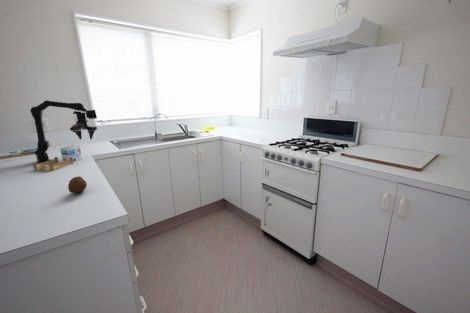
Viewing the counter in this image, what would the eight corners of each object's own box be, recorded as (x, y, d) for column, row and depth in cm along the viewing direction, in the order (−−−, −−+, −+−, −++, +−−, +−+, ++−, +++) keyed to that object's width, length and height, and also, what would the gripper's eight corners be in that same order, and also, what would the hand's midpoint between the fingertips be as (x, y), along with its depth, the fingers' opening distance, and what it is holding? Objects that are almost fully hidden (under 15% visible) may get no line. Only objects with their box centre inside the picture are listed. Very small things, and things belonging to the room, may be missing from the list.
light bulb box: (70, 162, 160) (67, 148, 157) (62, 162, 161) (59, 148, 158) (83, 158, 170) (80, 145, 167) (75, 158, 171) (72, 144, 168)
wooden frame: (34, 170, 144) (32, 163, 143) (57, 163, 160) (55, 157, 158) (52, 170, 142) (50, 164, 141) (73, 163, 158) (72, 157, 157)
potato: (87, 187, 114) (84, 173, 112) (88, 194, 106) (85, 178, 104) (70, 191, 110) (66, 176, 108) (69, 198, 102) (65, 182, 100)
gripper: (61, 120, 166) (66, 141, 170) (84, 120, 163) (88, 141, 167) (74, 119, 176) (78, 138, 181) (95, 118, 174) (99, 138, 178)
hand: (85, 139), depth 176 cm, fingers open, 9 cm apart
